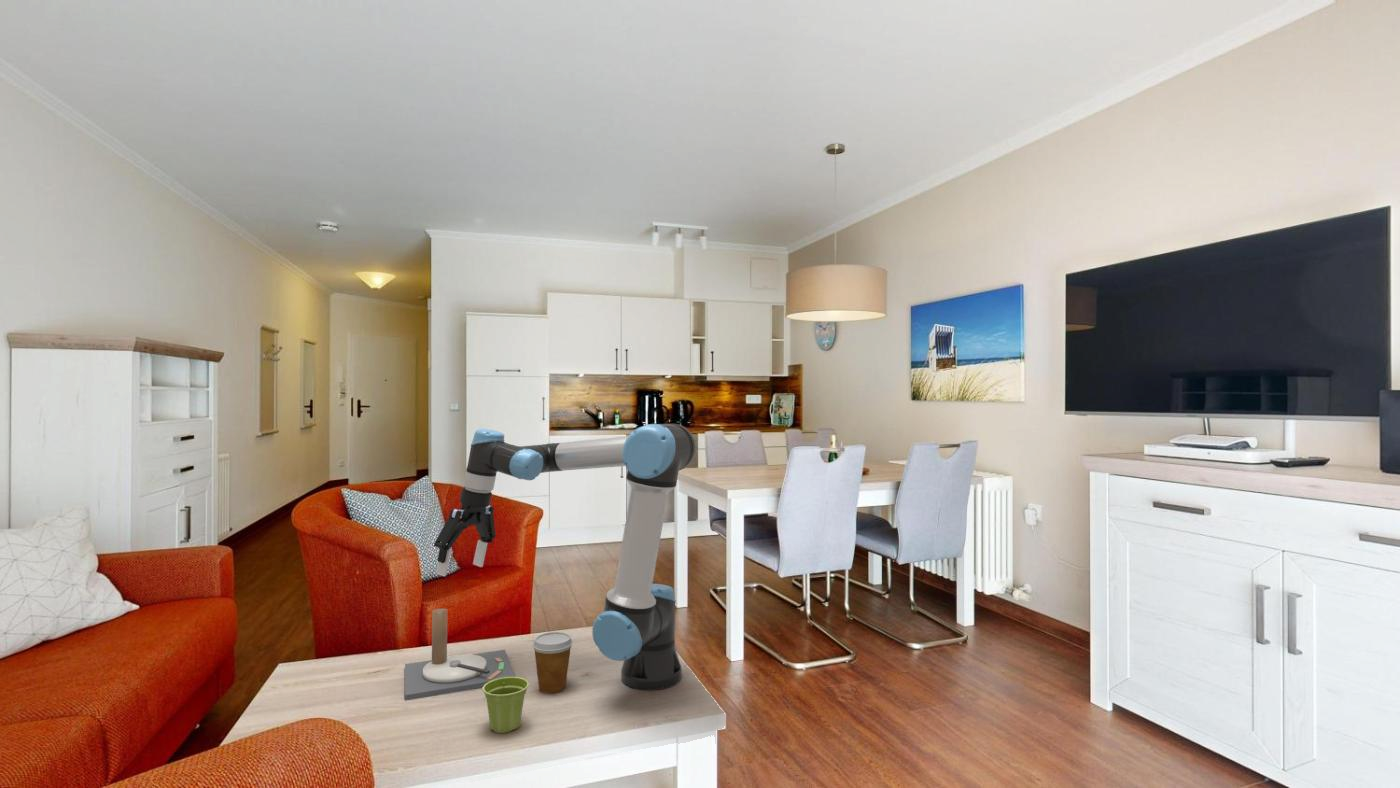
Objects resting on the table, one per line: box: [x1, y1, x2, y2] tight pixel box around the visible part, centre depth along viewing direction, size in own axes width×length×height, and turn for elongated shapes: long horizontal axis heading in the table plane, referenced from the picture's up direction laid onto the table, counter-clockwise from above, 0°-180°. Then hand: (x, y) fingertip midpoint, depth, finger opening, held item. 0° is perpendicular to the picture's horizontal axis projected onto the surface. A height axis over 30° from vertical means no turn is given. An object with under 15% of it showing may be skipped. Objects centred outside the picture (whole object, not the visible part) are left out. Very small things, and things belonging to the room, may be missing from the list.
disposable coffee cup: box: [532, 631, 574, 694], centre depth 158 cm, size 10×10×12 cm
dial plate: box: [404, 649, 517, 701], centre depth 165 cm, size 20×25×2 cm
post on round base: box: [423, 607, 490, 683], centre depth 164 cm, size 16×15×14 cm
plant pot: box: [482, 676, 530, 734], centre depth 139 cm, size 9×9×9 cm
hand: (459, 570), depth 168 cm, fingers open, 13 cm apart
